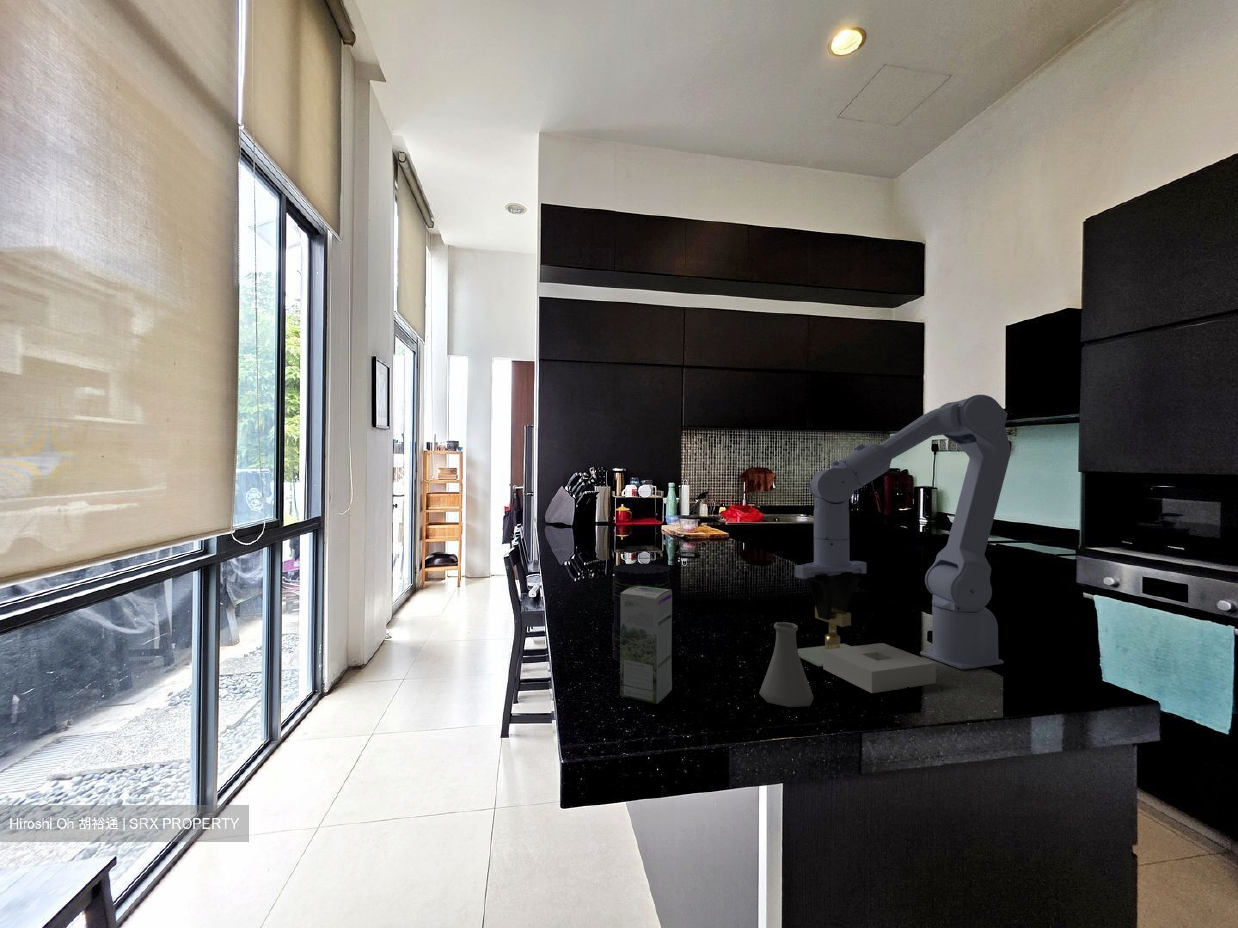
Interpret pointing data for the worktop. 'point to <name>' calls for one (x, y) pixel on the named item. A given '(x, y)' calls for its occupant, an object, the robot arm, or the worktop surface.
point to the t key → (836, 619)
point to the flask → (786, 671)
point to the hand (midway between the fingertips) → (831, 617)
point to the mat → (815, 654)
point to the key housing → (879, 667)
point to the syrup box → (645, 643)
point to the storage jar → (629, 578)
